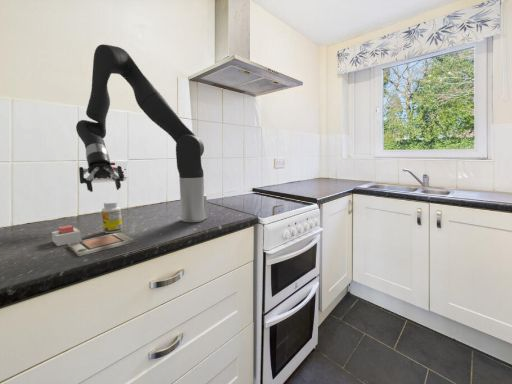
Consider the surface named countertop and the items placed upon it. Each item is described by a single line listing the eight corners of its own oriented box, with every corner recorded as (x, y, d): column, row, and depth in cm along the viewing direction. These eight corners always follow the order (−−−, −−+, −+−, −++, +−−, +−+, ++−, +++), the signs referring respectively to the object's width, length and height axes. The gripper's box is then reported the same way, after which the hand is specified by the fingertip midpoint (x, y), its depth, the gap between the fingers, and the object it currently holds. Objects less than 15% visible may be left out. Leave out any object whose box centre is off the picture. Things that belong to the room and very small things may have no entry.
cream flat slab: (119, 234, 83) (119, 231, 83) (134, 242, 76) (133, 239, 76) (68, 246, 72) (67, 243, 72) (79, 256, 65) (78, 252, 65)
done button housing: (76, 236, 81) (75, 227, 81) (81, 240, 77) (80, 231, 77) (52, 241, 77) (51, 232, 76) (57, 246, 73) (56, 236, 72)
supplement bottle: (103, 230, 87) (101, 201, 86) (122, 228, 90) (119, 200, 89) (104, 234, 83) (101, 204, 81) (123, 232, 86) (120, 202, 84)
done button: (71, 232, 79) (70, 224, 78) (73, 234, 77) (72, 226, 76) (59, 235, 76) (58, 227, 76) (61, 237, 74) (60, 228, 74)
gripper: (75, 150, 93) (81, 184, 85) (118, 150, 101) (127, 181, 94) (76, 164, 98) (82, 197, 90) (117, 163, 106) (125, 193, 99)
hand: (105, 189), depth 92 cm, fingers open, 8 cm apart
